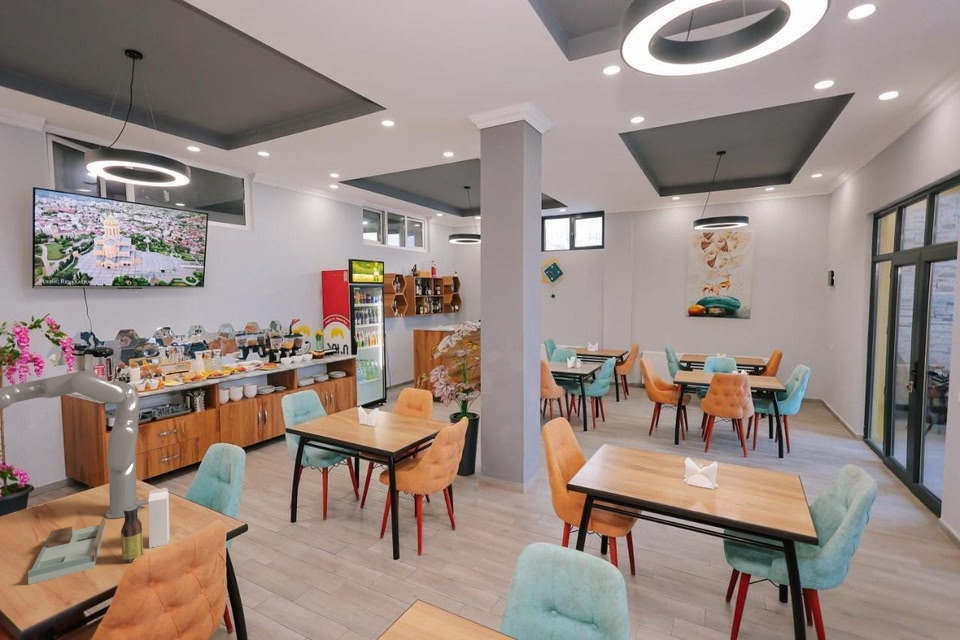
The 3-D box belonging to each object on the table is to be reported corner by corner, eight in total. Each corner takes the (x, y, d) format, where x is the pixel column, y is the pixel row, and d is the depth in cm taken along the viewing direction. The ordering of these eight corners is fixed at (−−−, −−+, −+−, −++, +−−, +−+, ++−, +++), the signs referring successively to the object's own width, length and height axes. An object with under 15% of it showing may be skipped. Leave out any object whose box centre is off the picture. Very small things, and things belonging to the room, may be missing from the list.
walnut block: (72, 536, 176) (72, 526, 176) (69, 543, 171) (69, 533, 171) (51, 540, 172) (51, 530, 172) (48, 547, 167) (47, 537, 167)
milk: (167, 544, 175) (166, 490, 174) (148, 548, 172) (147, 493, 171) (169, 537, 180) (168, 484, 179) (151, 541, 177) (150, 487, 176)
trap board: (105, 529, 186) (105, 517, 186) (94, 567, 160) (94, 554, 159) (49, 541, 176) (49, 529, 176) (28, 584, 150) (27, 570, 150)
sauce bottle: (130, 554, 168) (128, 503, 167) (147, 554, 169) (146, 503, 168) (117, 564, 162) (116, 511, 161) (135, 564, 162) (134, 511, 161)
